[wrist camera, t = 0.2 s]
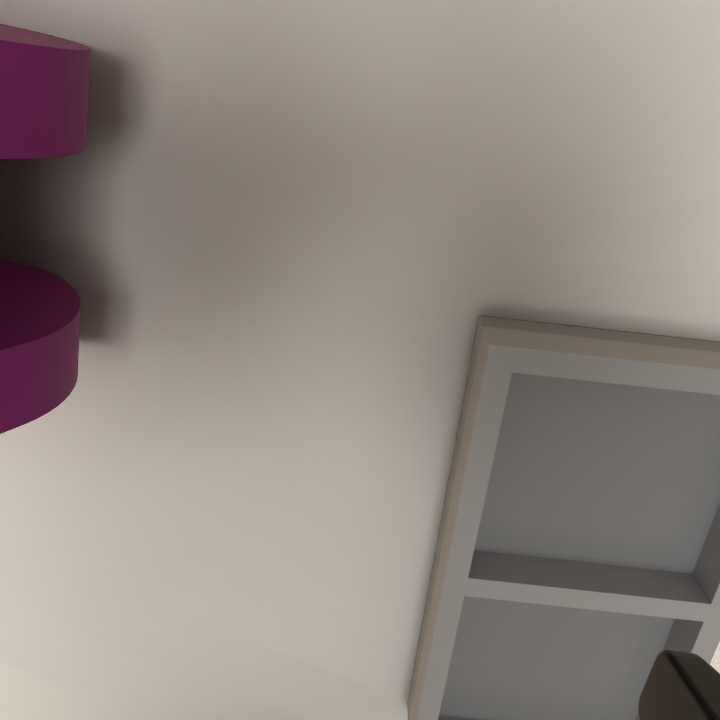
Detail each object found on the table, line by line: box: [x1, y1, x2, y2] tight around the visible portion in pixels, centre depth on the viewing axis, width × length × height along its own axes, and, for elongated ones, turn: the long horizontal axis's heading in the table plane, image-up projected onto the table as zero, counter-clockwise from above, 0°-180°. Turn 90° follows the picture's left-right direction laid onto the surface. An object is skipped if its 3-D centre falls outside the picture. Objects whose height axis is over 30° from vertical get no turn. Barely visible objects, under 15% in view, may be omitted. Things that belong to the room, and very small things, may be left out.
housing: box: [408, 316, 720, 720], centre depth 24 cm, size 18×10×2 cm, turn 174°
